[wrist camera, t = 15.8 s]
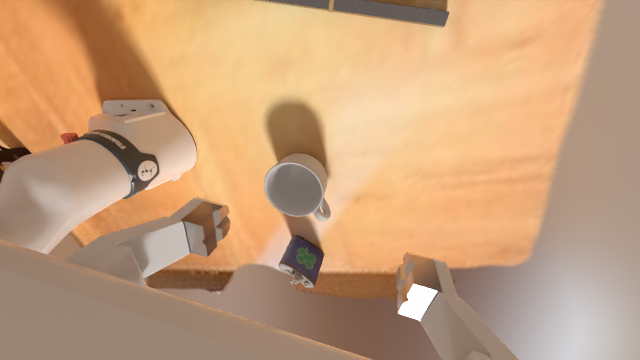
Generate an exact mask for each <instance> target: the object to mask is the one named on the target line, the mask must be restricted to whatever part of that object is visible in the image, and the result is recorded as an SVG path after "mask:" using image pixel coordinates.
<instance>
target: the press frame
mask: <svg viewBox="0 0 640 360" xmlns="http://www.w3.org/2000/svg"><path fill="white" fill-rule="evenodd" d="M257 1H263V2H270V3H277V4H284V5H291V6H298V7H305V8H312V9H319V10H325V11H328V12H339V13H346V14H353V15H360V16H367V17H374V18H381V19H387V20H394V21H401V22H408V23H415V24H422V25H429V26H436V27H444V26H445V24H446V21H447V18H448V15H449V12H446V11H439V10H432V9H424V8H417V7H410V6H402V5H395V4H387V3H380V2H373V1H365V0H257Z"/></svg>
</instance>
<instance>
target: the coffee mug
mask: <svg viewBox="0 0 640 360" xmlns="http://www.w3.org/2000/svg"><path fill="white" fill-rule="evenodd" d="M0 148H1V149H2V150H1V151H0V183H1V180H2V177H3V174H4V172H5V170H6V169H7V167H8V166H9V165H10V164H12V163H13V162H14V161H16V160H17V159H19V158H21V157H23V156H25V155H29V154H32V153H30V152H29V151H28V150H26V149H25V148H22V147H19V148H13V149H7V148H4V147H1V146H0Z"/></svg>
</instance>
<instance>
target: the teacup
mask: <svg viewBox="0 0 640 360" xmlns="http://www.w3.org/2000/svg"><path fill="white" fill-rule="evenodd" d="M326 187H327V174H326V171H325V169H324V167H323V166H322V164H321V163H320V162H319V161H318V160H317V159H315V158H314V157H312V156H310V155H307V154H302V153H296V154H291V155H289V156H286V157H285V158H283V159H282V160H281V161H279V162H278V163H277V164H276V165H275V166H273V167H272V168H271V169H270V170H269V171H268V173H267V174H266V177H265V180H264V190H265V194H266V196H267V198H268V200H269V202H270V203H271V204H272V205H273V206H274V207H275V208H276V209H278V210H279V211H280V212H282V213H284V214H286V215H290V216H295V217H301V216H306V215H309V214H311V213H314V215H315V217H316V218H317V219H318V220H320V221H326V220H328V219H329V218H330V215H331V212H330V208H329V206H328V204H327V202H326V200H325V199H324V193H325V191H326ZM320 206H321V208H322V210H323V213H322V212H321V210H320Z"/></svg>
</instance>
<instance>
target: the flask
mask: <svg viewBox="0 0 640 360" xmlns="http://www.w3.org/2000/svg"><path fill="white" fill-rule="evenodd" d="M323 257H324V253H323V252H322V251H321V250H320V249H319V248H318V247H317V246H315V245H313V244H312V243H310V242H309V241H307V240H305V239H304V238H302V237H300V236H297V235H295V236H293V237H292V239H291V241H290V243H289V245H288V247H287V249H286V251H285V253H284V255H283V257H282V259H281V261H280V263H279V268H280V269H281V270H282V271H284V272H286V273H288V274H290V275H291V276H293V279H292V280H291V281H290V282H291V283H292V284H293V283H295V284H297V283H298V282H301V283H302V284H303V285H304V287H307V288H313V287H314V286H315V283H316V280H317V276H318V273H319V270H320V267H321V264H322V261H323Z"/></svg>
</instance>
